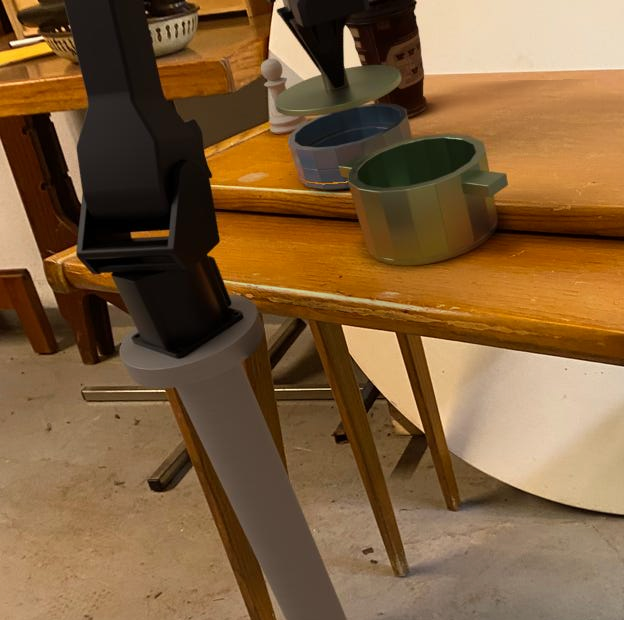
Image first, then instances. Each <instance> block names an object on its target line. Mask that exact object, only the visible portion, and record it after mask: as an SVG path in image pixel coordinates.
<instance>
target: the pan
mask: <svg viewBox="0 0 624 620" xmlns="http://www.w3.org/2000/svg"><path fill="white" fill-rule="evenodd" d="M410 139H414V138H413V133H412V128H411V124H410V121H409V117H408V115H407V111H406V109H405V108H403V107H401V106H399V105H396V104H385V103H374V102H373V103H366V104H363V105H361V106H358V107H355V108H352V109H349V110H346V111H341V112H337V113H332V114H324V115H318V116H315V117H314V118H312V119H310V120H308V121H307V122H306V123H305V124H303V125H301V126H299V127H298V128H297V129H296V130H295V131H293V132H290V134H289V135H288V141H287V144H288V148H289V150H290V154H291V157H292V160H293V163H294V166H295V170H296V172H297V176H298V179H299V182H301V183H303V184H304V185H305V186H307V187H308V188H313V189H314V188H315V189H321V190H326V191H340V190H350V187H349V184H348V182H347V183H338V184H325V185H322V184H315V183H308V182H306V181H309V182H318V183H333V182H346V181H348V178H346V177H342V176H341V173H340V170H339V166H340V165H342V164H344V163H345V162H347V161H349V160H351V159H352V158H354V157H356V156H362V157H366V156H368V155H369V154H371V153H373V152H375V151H377V150H379V149H382V148H384V147H387V146H390V145H392V144H395V143H398V142H401V141H405V140H410ZM301 178H302V179H301ZM303 179H304V180H305V181H304V180H303Z"/></svg>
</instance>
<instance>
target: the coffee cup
mask: <svg viewBox="0 0 624 620" xmlns="http://www.w3.org/2000/svg"><path fill="white" fill-rule="evenodd" d="M368 2H369V6H370V8H369V9H367V10H366V11H362V12H359V13H355V14H352V15H351V17H350V18H349V20H348V22H347V23H346V25H345V27H347V29H348V30H349V32H350V34H351V38H352V39H353V43H354V48H355V51H356V53H357V56H358V58H359V62H360V64H361V65H360V66H366V65H386V66H391V67H395V68H397V69H398V70H399V72H400V75H401V82H400V84H399V85H398V86H397V87H396V88H395V89H394V90H392V91H391V92H389V93H388V94H386V95H384V96H382V97H380V98H378V99H376V100H374V101H373V104H374V103H385V104H396V105H399V106H401V107H403V108H405V109H406V111H407V115H408V118H409V117H412V116H414V115H417V114H419V113H420V112H422V111H424V110H425V109H426V108H427V107H428V100H427V98H426V97H425V96H424V81H425V70H424V63H423V55H422V45H421V37H420V31H419V26H418V21H417V15H416V13H415V10H416V9H417V7H416V5H417V4H418V2H417V0H368Z"/></svg>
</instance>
